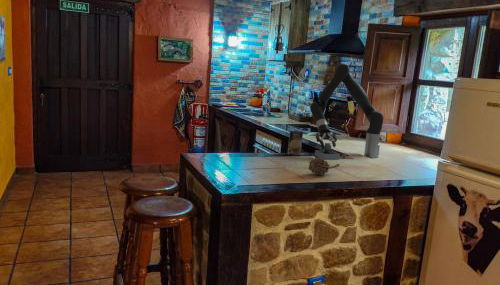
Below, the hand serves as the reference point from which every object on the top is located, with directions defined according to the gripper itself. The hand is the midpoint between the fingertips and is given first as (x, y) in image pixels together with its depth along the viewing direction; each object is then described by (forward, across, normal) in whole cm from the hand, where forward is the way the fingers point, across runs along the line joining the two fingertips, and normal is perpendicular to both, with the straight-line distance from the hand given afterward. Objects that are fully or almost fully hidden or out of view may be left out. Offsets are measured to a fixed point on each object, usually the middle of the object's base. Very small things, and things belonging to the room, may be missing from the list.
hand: (328, 146), depth 278 cm
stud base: (+6, +13, +7) cm, 16 cm away
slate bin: (+6, 0, +7) cm, 9 cm away
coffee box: (-6, -17, +19) cm, 26 cm away
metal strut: (+5, 0, +7) cm, 8 cm away
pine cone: (+33, -22, -19) cm, 44 cm away
